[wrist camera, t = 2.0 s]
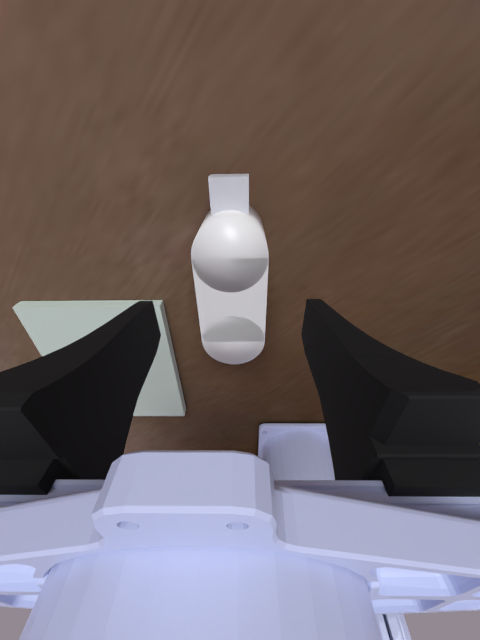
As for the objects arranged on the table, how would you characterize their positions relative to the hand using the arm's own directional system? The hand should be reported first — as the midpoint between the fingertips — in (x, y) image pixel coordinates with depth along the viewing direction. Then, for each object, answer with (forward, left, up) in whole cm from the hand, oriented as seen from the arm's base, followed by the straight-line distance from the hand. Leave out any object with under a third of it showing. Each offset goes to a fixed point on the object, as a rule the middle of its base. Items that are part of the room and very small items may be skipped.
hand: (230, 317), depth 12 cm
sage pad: (-8, +10, -5) cm, 14 cm away
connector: (0, 0, -5) cm, 5 cm away
